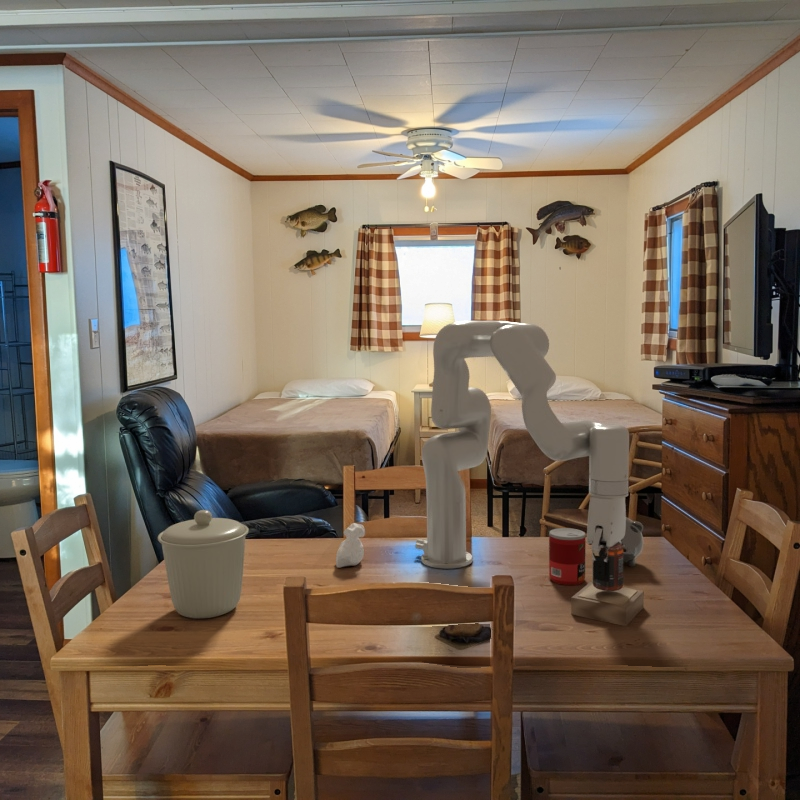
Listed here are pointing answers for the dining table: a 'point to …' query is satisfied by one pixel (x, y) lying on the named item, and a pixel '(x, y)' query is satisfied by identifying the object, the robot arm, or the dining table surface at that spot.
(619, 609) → the base
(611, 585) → the supplement bottle
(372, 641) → the dining table surface
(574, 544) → the canned food
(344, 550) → the bust
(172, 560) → the canister
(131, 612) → the dining table surface
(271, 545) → the dining table surface
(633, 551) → the piggy bank
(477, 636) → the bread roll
